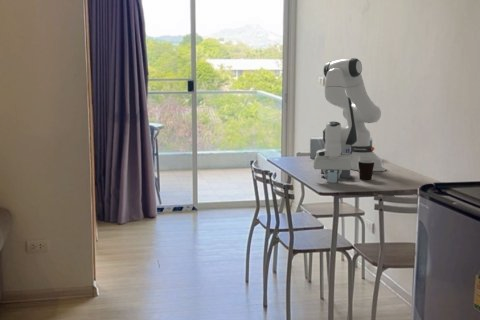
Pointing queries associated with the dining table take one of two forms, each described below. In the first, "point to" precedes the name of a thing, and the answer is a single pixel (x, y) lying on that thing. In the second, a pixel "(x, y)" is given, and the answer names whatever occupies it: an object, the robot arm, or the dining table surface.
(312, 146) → the soda pack
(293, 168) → the dining table surface
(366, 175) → the coffee mug
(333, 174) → the light blue block
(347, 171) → the dark grey toaster
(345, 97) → the robot arm
